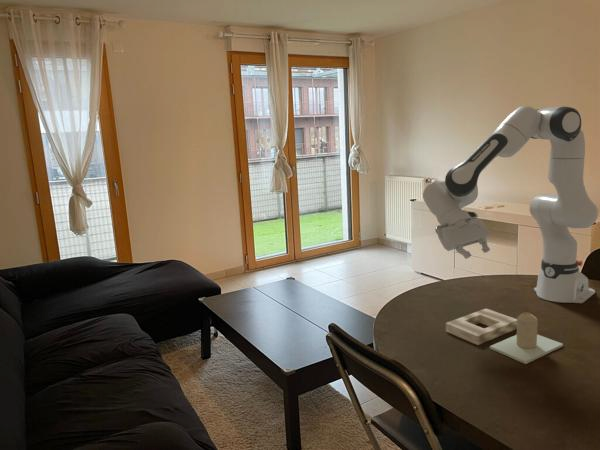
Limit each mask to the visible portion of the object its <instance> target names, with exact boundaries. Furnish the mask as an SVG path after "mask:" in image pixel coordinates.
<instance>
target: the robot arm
mask: <svg viewBox="0 0 600 450" xmlns="http://www.w3.org/2000/svg"><path fill="white" fill-rule="evenodd" d="M581 117H582V116H581V114H580V112H579V111H578V110H577V109H576V108H574V107H570V106H549V107H544V108H540V109H536V108H534V107H533V106H530V105H520V106H518V107H517V108H516V109H514V111H512V112H511V113H509V114H508V115H507V116H506V118H504V119H503V120H502V121H501V122H500V124H498V126H497V127H496V128H495V130H494V131H493V132H492V133H491V135H489V136H488V138H486V139H485V140H484V141H483V142H482V143H481V144H480V145H479V146H478V147H477V148H476V149H475V150H474V151H473V152H472V153H471V154H470V155H469V156H468V157H467V158H466V159H465V160H464V161H462V162H461V163H458V164H456V165H455V166H453V167H451V169H449V170H448V171H447V173H446V175H445V180H444V181H443V180H442V181H441V180H439V181H438V180H434V181H432V182H430V183H428V185H426V186H425V188H424V189H423V192H422V198H423V201H424V203H425V204H426V206H427V208H428V210H429V211H430V212H431V214H433V215H434V216H435V217H436V219H437V222H438V223H439V225H437V226H436V227H435V233H436V234H437V238H438V240H439V241H440V243H441V245H442V247H443V248H444V250H446V251H448V252H450V251H453V250H455V251H456V252H457V253H458V254H460V255H462V257H464V259H465V260H467V259H469V258H471V257H472V254H471V252H470V251H469V250H466V249H465V248H464V247H467V246H470V245H474V244H478V243H479V245H481V247H482V248H481V251H482V252H483V253H484V254H486V253H488V252H490V251H491V249H490V247H489V245H488V239H489V238H490V237H491V231H490V230H489V228H488V227H487V226H486V224H485V223H484V221H482V220H481V219H480V218H479V215H478V213H477V212H475V211H468V210H465V209H462V208H464V207H466V206H468V205H471V204H473V203H474V202H475V200H477V198H478V195H479V188H478V181H479V177H480V174H481V173H482V171H484V169H486V168H487V167H488V166H489V164H491V163H492V162H493V161H494V160H495V158H497V157H501V158H510V157H513V156H515V155H516V154H517V153H518V152H519V151H521V149H522V148H524V146H525V145H526V144H527V143H528V142H529V140H531V139H532V140H533V139H534V140H537V139H539V140H549V142H550V147H551V148H550V151H549V162H548V163H549V164H548V173H547V174H548V175H547V178H548V180H549V182H550V183H551V184H552V185H553V186H554V189H555V190H556V193H557V194H554V193H547V194H538V195H536V196H535V197H533V199H531V201H530V204H529V213H530V215H531V217H532V218H533V219H534V220H535V221H536V223H537V225H538V226H539V229H540V232H541V236H542V242H543V243H542V245H543V246H542V247H543V249H542V250H543V251H542V252H543V253H542V259H541V263H540V265H541V266H540V267H541V268H540V269H541V270H540V271H538V276H537V282H536V287H535V286H534V288H533V291H534V292H536V295H537V297H538V298H540V299H543V300H546V301H548V302H554V303H563V304H564V303H565V304H567V303H570V304H571V303H574V304H583V303H585V302H586V301H587V300H588V299H590V297H592V296H593V295H595V293H596V290H595V289H594V288H591V287H589V278H588V277H587V276H586V275H585V274H583V273H582V272H580V268H579V267H581V266H583V260H578V259H577V253H578V242H577V240H576V238H575V237H574V236H573V235H572V234H571V233H570V231H569V228H571V229H588V228H591V227H592V226H593V225H594V224H595V223H596V221H597V220H598V217H599V209H598V207H597V205H596V203H594V201H592V200H591V198H590V197H589V195H588V193H587V190H586V187H585V182H584V168H585V158H586V157H585V155H586V142H585V141H586V140H585V133H584V131H583V130H582V118H581Z"/></svg>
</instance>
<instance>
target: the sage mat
mask: <svg viewBox="0 0 600 450" xmlns="http://www.w3.org/2000/svg"><path fill="white" fill-rule="evenodd" d="M563 346H564V343H562V342H559V341H557V340H554V339H550V338H549V337H546V336H543V335H540V334H538V333H537V345H536V347H535V348H533V349H526V348H522V347H519V346H518V345H517V334H515V335H513V336H510V337H508V338H506V339H503V340H501V341H498V342H496V343H494V344H492V345H490V346H489V350H492V351H494V352H497V353H499V354H501V355H504V356H505V357H506V356H507V357H508V358H511V359H513V360H515V361H517V362H520V363H522V364H525V365H526V364H529V363H531V362H533V361H536V360H537V359H539V358H541V357H543V356H546V355H548V354H549V353H551V352H554V351H557V350H558V349H560V348H562V347H563Z"/></svg>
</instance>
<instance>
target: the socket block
mask: <svg viewBox="0 0 600 450" xmlns="http://www.w3.org/2000/svg"><path fill="white" fill-rule="evenodd" d="M478 324H482V325H485V326H487V327H485V328H483V327H481V326H479V325H478ZM516 330H517V318H514V317H512V316H508V315H506V314H503V313H500V312H497V311H494V310H492V309H489V308H483V309H480V310H478V311H475V312H471V313H469V314H467V315H464V316H461V317H458V318H456V319H453V320H450V321H447V322H445V332H447V333H449V334H451V335H454V336H456V337H458V338H460V339H463V340H465V341H467V342H470V344H471V343H472V344H473V345H474V344H475V345H477V346H479V345H482V344H484V343H486V342H488V341H491V340H493V339H496V338H498V337H500V336H501V337H502V336H503V335H505V334H508V333H510V332H513V331H516Z"/></svg>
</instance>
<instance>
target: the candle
mask: <svg viewBox="0 0 600 450" xmlns="http://www.w3.org/2000/svg"><path fill="white" fill-rule="evenodd" d="M516 319H517V329H516V335H517V345H518V346H519V347H522V348H526V349H533V348H535V347H536V345H537V334H538V321H539V320H538V318H537V317H536V316H535V315H534V314H532V313H530V311H529V312H528V311H527V312H522V313H521V314H519V315H518V316H517V317H516Z"/></svg>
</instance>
